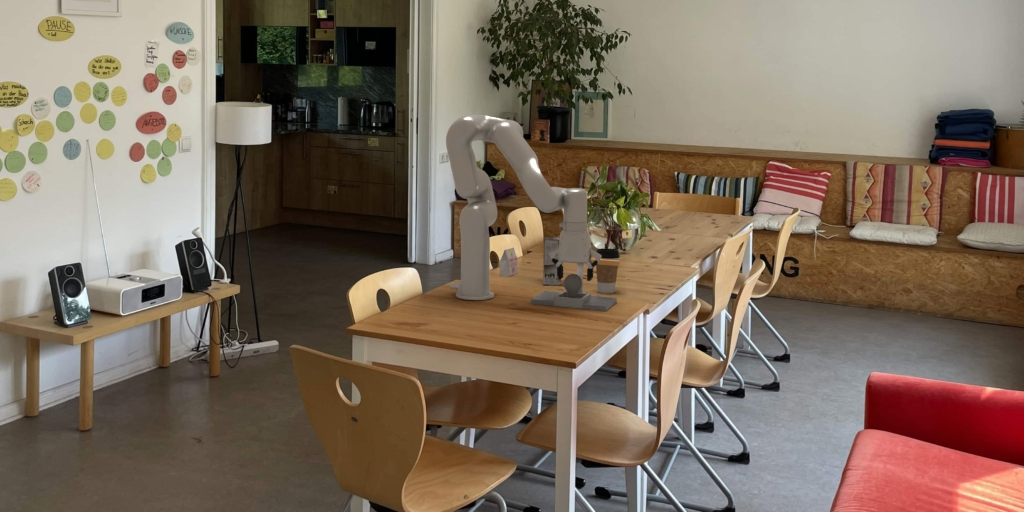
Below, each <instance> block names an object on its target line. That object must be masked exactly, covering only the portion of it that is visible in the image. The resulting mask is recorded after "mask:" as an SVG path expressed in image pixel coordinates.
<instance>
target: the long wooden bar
mask: <svg viewBox="0 0 1024 512" xmlns="http://www.w3.org/2000/svg"><path fill="white" fill-rule="evenodd" d="M595 259H596V258H592V257H591V261H592V262H594V261H595ZM598 264H600V265H613V266H618V267H620V266H621V260H620V259H618V260H606V259H600V261H599V263H598Z"/></svg>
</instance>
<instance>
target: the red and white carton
mask: <svg viewBox="0 0 1024 512" xmlns="http://www.w3.org/2000/svg"><path fill="white" fill-rule="evenodd" d="M518 261H519V258H518V256H517V254H516V250H515V248H514V247H510V248H506V249H504V250H503V253H502V255H501V257H500V260H499V277H503V276H505V277H504V278H511V277H513V276H512V275H514V276H516V275H515V274H517V275H518V265H519V264H518V263H519V262H518Z"/></svg>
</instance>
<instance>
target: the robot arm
mask: <svg viewBox="0 0 1024 512" xmlns="http://www.w3.org/2000/svg"><path fill="white" fill-rule="evenodd" d="M476 141H481V142H486V143H492V144H495V145H496V148H497V149H498V150H499V152H501V154H502V155H503V156H504V158H505V159H506V161H507V162H508V164H510V166H511V167H512V169H513V170H514V172H515V174H516V176H517V178H518V180H519V182H520V185H521V186H522V188H523V190H524V191H525V193H526V194H527V196H528V197H529V198H530V200H531V201H532V203H533V204H534V205H535V206H536V208H537V209H538V210H540V211H541V212H544V213H547V214H549V213H553V212H555V211H558V210H563V221H562V222H559V224H558V225H559V227H560V228H562V230H561V231H560V235H559V237H560V240H559V248H558V249H556V250H554V251H552V252H550V253H549V255H550V257H551V259H552V262H553V263H554V264H555V265H556V267H557V276H558V279H561V280H562V279H563V278H564V265H563V264H564V263H571V264H577V263H583V264H585V265H586V266H587V269H586V281H587V282H590V281H592V279H594V268H595V267H596V265H597V264H598V263H599V261H600V259H601V257H602V255H600V254H599V253H597V251H596V250H594V249H592V242H591V241H592V240H591V234H590V231H589V230H588V193H587V190H586V189H585V188H579V187H571V188H570V187H569V188H565V187H560V186H550V184H549V182H548V181H547V180H546V178H545V177H544V175H543V173H542V170H541V169H540V165H539V158H538V156H537V154H536V153H535V151H534V150H533V149H532V147H531V146H530V144H529V143H528V142H527V140H526V139H525V138H524V130H523V127H522V126H521V124H520V123H519V122H517V121H516V120H513V119H506V118H505V119H504V118H499V117H495V116H489V115H484V114H466V115H462V116H461V117H459V118H457V119H456V120H455V121H453V123H452V124H451V125H450V126H449V128H448V130H447V132H446V137H445V147H446V150H447V151H446V152H447V155H448V160H449V164H450V169H451V173H452V177H453V182H454V183H453V184H454V188H455V191H456V193H457V195H459V197H460V198H462V199H465V200H466V201H467V204H466V205H465V206H464V207H463V208H462V210H461V212H460V214H459V222H458V223H459V229H460V282H450V284H449V288H450V289H451V290H457V291H456V292H455V296H456V298H458V299H461V300H465V301H485V300H491V299H493V298H494V297H495V294H494V292H493V291H490V267H491V265H490V260H491V259H490V258H491V254H490V253H491V252H490V251H491V249H490V248H491V247H490V246H491V242H490V241H491V240H490V232H489V227H491V226H492V225H494V224H495V222H496V220H497V219H498V207H497V203H496V198H495V194H494V190H493V185H492V181H491V179H490V176H489V175H488V174H487V173H486V171H485V170H483V169H481V168H478V163H477V160H476V159H477V157H476V155H475V152H474V150H473V147H472V143H473V142H476ZM557 253H558V259H559V261H558V259H557V258H556V257H555V254H557ZM592 256H593V257H595V258H594V259H595V261H594V262H592V261H591V258H592Z"/></svg>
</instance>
